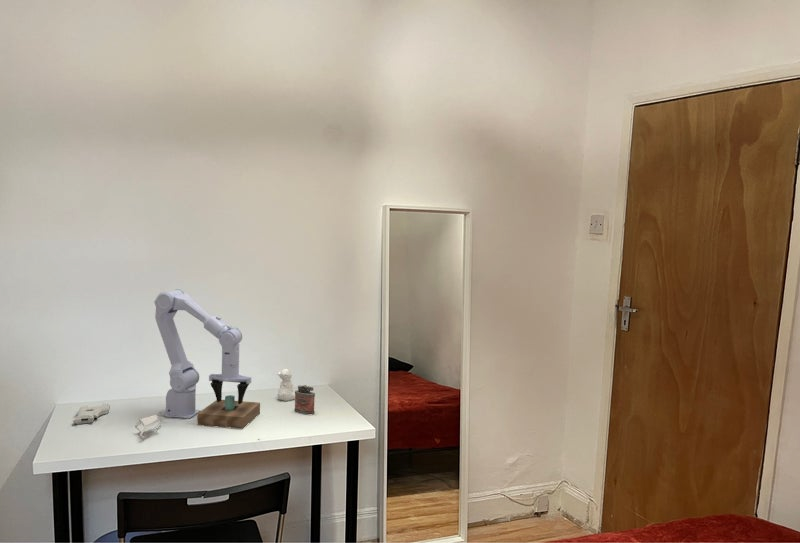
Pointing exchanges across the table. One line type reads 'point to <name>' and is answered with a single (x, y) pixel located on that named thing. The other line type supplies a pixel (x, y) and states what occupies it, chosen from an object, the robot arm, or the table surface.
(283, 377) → the white creature statuette
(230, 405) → the peg
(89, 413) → the gun
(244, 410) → the socket block
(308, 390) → the lighter
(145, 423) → the origami figure
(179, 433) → the table surface
